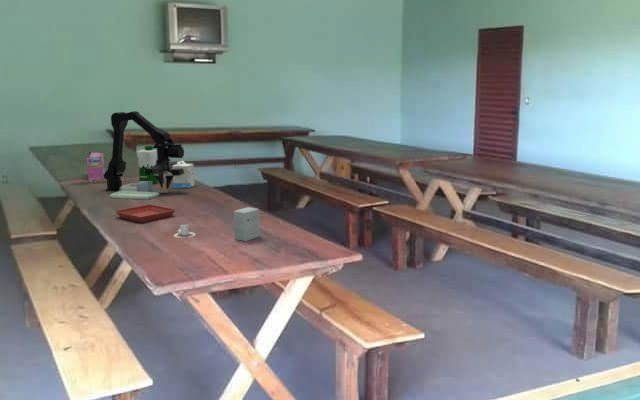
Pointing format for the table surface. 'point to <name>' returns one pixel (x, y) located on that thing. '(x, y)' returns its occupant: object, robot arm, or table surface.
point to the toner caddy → (149, 187)
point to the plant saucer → (145, 213)
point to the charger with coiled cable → (184, 231)
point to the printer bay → (129, 187)
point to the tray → (134, 195)
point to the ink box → (184, 176)
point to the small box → (246, 224)
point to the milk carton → (146, 163)
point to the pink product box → (95, 166)
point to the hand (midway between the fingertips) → (165, 188)
